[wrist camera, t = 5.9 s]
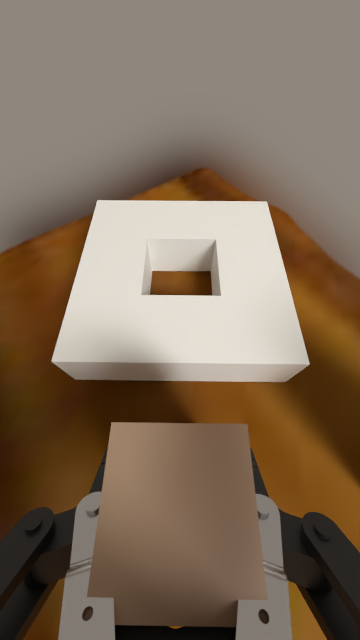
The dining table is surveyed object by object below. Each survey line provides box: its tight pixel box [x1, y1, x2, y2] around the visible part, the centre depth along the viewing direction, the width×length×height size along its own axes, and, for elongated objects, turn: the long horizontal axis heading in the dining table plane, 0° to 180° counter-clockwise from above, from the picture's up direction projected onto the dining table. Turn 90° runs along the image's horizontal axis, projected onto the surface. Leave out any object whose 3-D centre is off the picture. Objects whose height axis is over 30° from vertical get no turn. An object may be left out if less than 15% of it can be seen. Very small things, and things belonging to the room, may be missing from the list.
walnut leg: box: [84, 422, 268, 627], centre depth 12 cm, size 5×5×12 cm
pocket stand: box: [51, 200, 310, 382], centre depth 23 cm, size 18×18×4 cm
